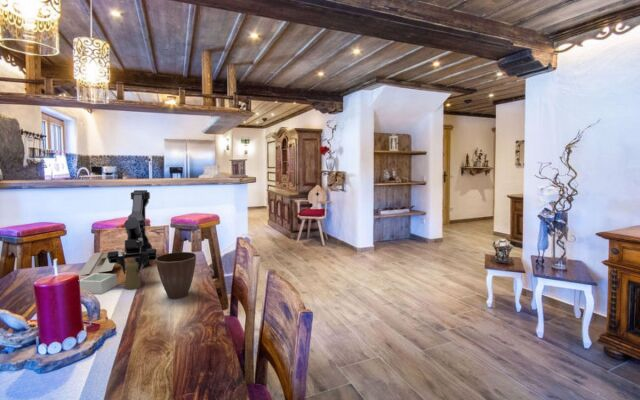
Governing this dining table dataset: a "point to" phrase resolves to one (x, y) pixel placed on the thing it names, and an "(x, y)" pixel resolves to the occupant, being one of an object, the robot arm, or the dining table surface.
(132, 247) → the robot arm
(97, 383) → the dining table surface
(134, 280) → the cork
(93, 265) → the grey slanted panel stand
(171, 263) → the plant pot
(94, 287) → the grey open box
